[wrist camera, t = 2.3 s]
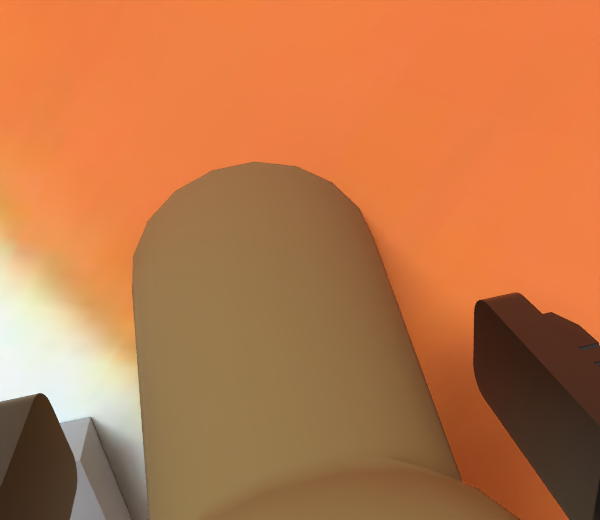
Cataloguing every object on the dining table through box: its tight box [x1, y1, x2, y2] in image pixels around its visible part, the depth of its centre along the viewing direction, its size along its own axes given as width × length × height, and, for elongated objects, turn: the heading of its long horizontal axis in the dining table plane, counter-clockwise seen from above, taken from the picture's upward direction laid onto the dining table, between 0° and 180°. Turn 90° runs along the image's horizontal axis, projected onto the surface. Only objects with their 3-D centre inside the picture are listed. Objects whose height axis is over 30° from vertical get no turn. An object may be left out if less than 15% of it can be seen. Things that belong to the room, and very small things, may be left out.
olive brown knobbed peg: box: [132, 162, 519, 520], centre depth 9 cm, size 6×6×11 cm
